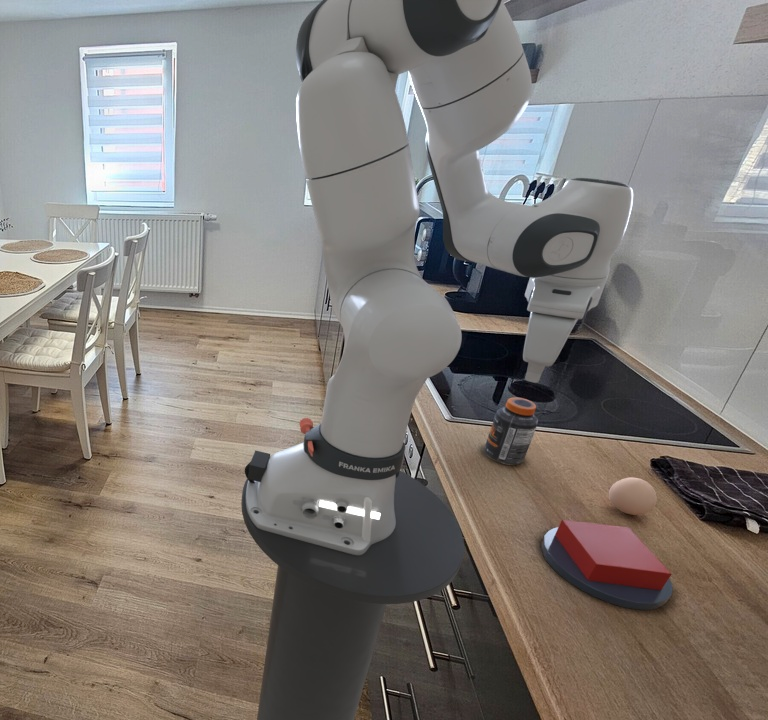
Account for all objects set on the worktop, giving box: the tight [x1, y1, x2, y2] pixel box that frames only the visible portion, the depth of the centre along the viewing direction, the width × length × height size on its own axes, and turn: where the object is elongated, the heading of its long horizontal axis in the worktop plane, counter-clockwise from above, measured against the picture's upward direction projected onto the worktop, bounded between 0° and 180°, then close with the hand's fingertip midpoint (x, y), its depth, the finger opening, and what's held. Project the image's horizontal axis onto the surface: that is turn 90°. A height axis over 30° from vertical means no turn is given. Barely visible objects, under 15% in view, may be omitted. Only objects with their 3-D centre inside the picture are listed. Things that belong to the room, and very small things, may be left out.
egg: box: [608, 476, 658, 516], centre depth 75 cm, size 5×5×6 cm
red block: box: [555, 519, 672, 590], centre depth 66 cm, size 8×8×3 cm
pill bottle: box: [483, 397, 539, 466], centre depth 87 cm, size 6×6×11 cm
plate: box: [540, 526, 674, 611], centre depth 67 cm, size 13×13×1 cm
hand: (535, 369), depth 82 cm, fingers open, 8 cm apart
